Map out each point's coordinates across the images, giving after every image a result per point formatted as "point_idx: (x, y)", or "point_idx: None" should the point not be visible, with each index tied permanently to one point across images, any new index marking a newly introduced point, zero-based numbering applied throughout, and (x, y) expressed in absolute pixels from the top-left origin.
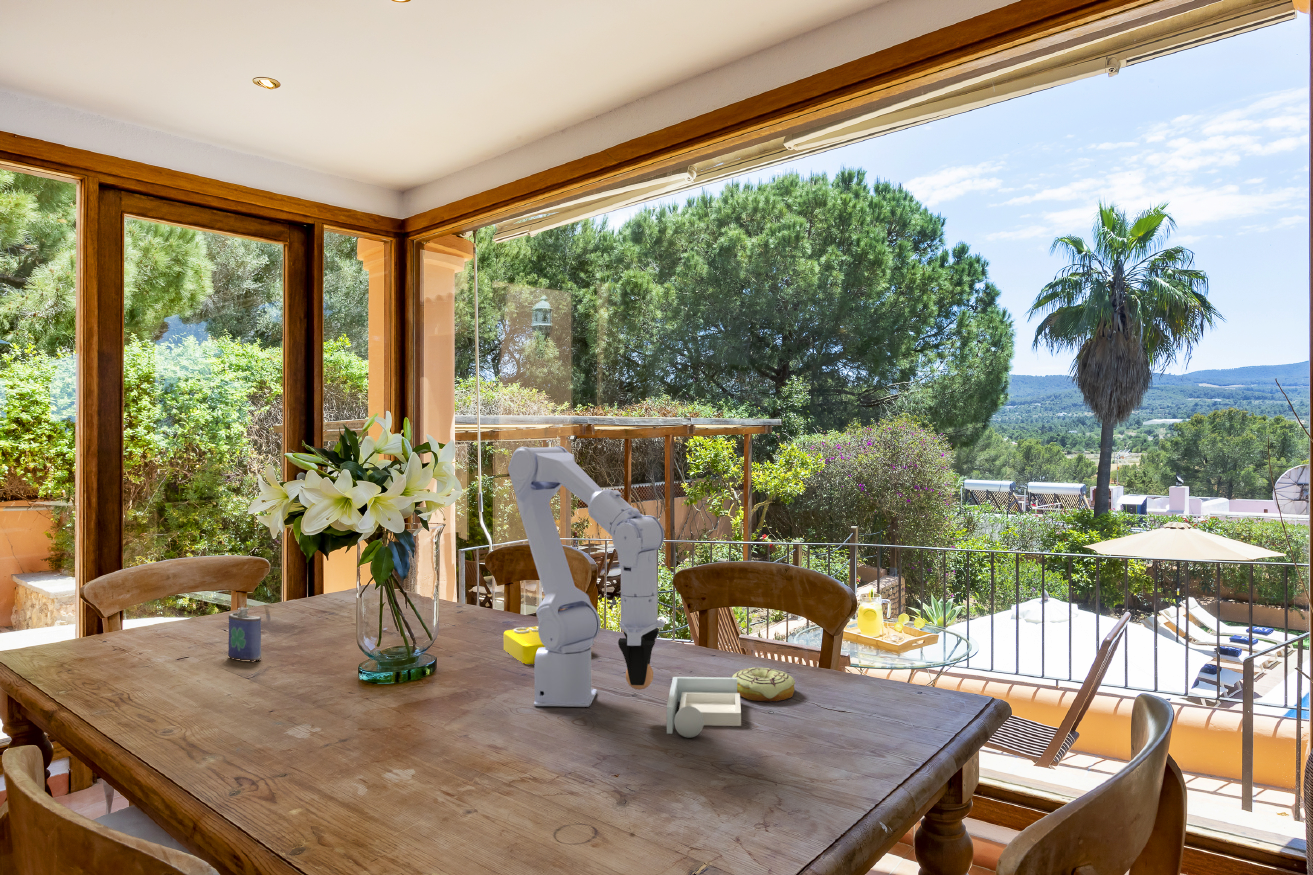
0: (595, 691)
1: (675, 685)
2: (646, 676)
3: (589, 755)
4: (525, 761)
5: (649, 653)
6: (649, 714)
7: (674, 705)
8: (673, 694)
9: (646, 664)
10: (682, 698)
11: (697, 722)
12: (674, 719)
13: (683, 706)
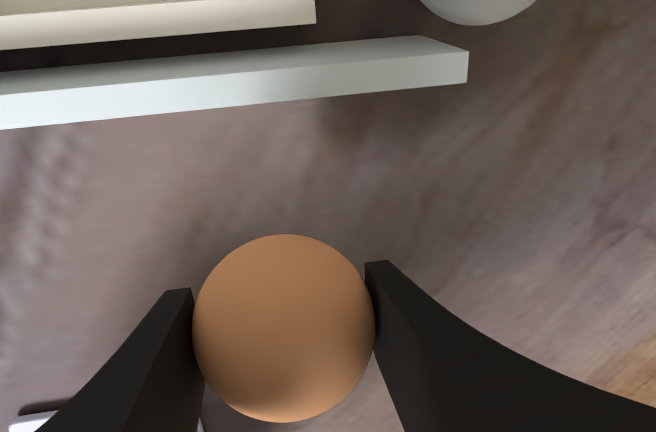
0: (35, 421)
1: (54, 94)
2: (354, 277)
3: (590, 269)
4: (600, 387)
5: (578, 382)
6: (201, 176)
7: (240, 61)
8: (244, 77)
9: (475, 330)
10: (80, 33)
11: None
12: (491, 23)
13: (224, 6)
